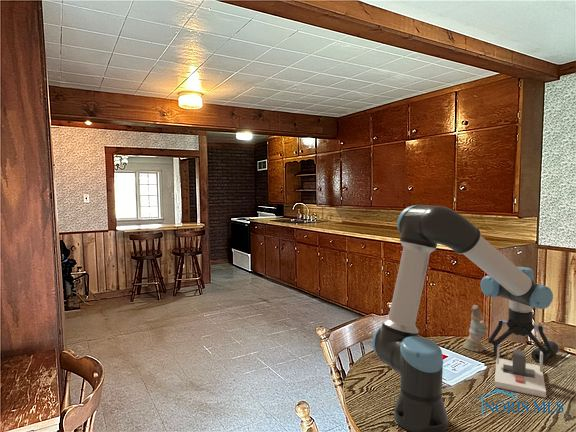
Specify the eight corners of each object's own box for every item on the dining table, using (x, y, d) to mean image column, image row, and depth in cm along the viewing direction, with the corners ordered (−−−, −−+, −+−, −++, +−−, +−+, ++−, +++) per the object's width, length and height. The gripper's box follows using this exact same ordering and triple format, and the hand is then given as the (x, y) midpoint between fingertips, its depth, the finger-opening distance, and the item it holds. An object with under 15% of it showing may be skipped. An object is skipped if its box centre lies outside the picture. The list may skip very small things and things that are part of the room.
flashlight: (545, 365, 152) (545, 352, 151) (529, 361, 156) (530, 347, 156) (558, 355, 161) (559, 342, 161) (544, 351, 165) (544, 338, 165)
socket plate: (545, 397, 128) (546, 389, 127) (494, 386, 135) (494, 379, 135) (541, 371, 147) (541, 363, 146) (496, 362, 154) (496, 355, 154)
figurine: (472, 353, 163) (473, 306, 162) (459, 346, 171) (460, 301, 170) (490, 351, 165) (491, 305, 163) (477, 344, 173) (478, 299, 172)
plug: (525, 380, 139) (525, 357, 138) (512, 377, 141) (512, 355, 140) (524, 372, 145) (525, 349, 145) (512, 369, 147) (513, 347, 147)
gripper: (561, 311, 138) (559, 369, 139) (482, 302, 151) (481, 355, 152) (563, 317, 132) (561, 378, 133) (481, 307, 144) (480, 363, 145)
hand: (518, 366), depth 142 cm, fingers open, 13 cm apart
